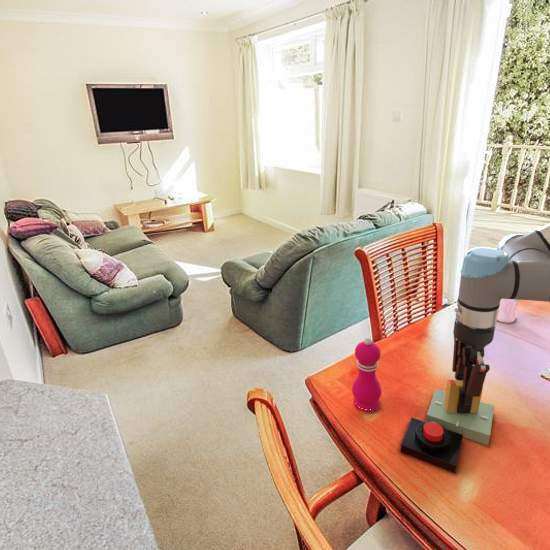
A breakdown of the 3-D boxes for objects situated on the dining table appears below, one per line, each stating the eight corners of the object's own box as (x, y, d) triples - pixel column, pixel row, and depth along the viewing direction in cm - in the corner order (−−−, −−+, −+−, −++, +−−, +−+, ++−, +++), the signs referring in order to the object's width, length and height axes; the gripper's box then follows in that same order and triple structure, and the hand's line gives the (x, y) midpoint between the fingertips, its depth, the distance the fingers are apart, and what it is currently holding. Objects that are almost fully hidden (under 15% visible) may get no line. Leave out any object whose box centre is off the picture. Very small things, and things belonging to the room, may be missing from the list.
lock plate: (492, 413, 90) (494, 403, 88) (487, 447, 81) (490, 437, 80) (435, 396, 96) (436, 386, 95) (425, 426, 88) (426, 415, 86)
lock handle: (474, 406, 88) (479, 378, 85) (478, 413, 86) (483, 384, 83) (443, 406, 89) (447, 379, 85) (446, 413, 87) (450, 385, 84)
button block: (461, 441, 83) (464, 428, 81) (455, 473, 76) (457, 459, 75) (410, 424, 89) (412, 411, 87) (400, 452, 82) (401, 438, 80)
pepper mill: (382, 415, 92) (385, 347, 84) (352, 413, 93) (352, 346, 85) (379, 394, 98) (382, 330, 90) (351, 393, 100) (352, 329, 92)
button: (444, 431, 81) (445, 425, 81) (440, 445, 78) (441, 439, 78) (425, 425, 84) (425, 419, 83) (421, 438, 80) (421, 432, 80)
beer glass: (491, 320, 126) (498, 280, 120) (493, 311, 131) (501, 272, 125) (515, 325, 122) (524, 284, 116) (517, 315, 127) (525, 275, 121)
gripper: (444, 304, 85) (434, 385, 94) (470, 342, 71) (456, 433, 81) (478, 303, 84) (465, 385, 94) (512, 341, 70) (492, 433, 80)
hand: (461, 407), depth 87 cm, fingers closed on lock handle, 2 cm apart
